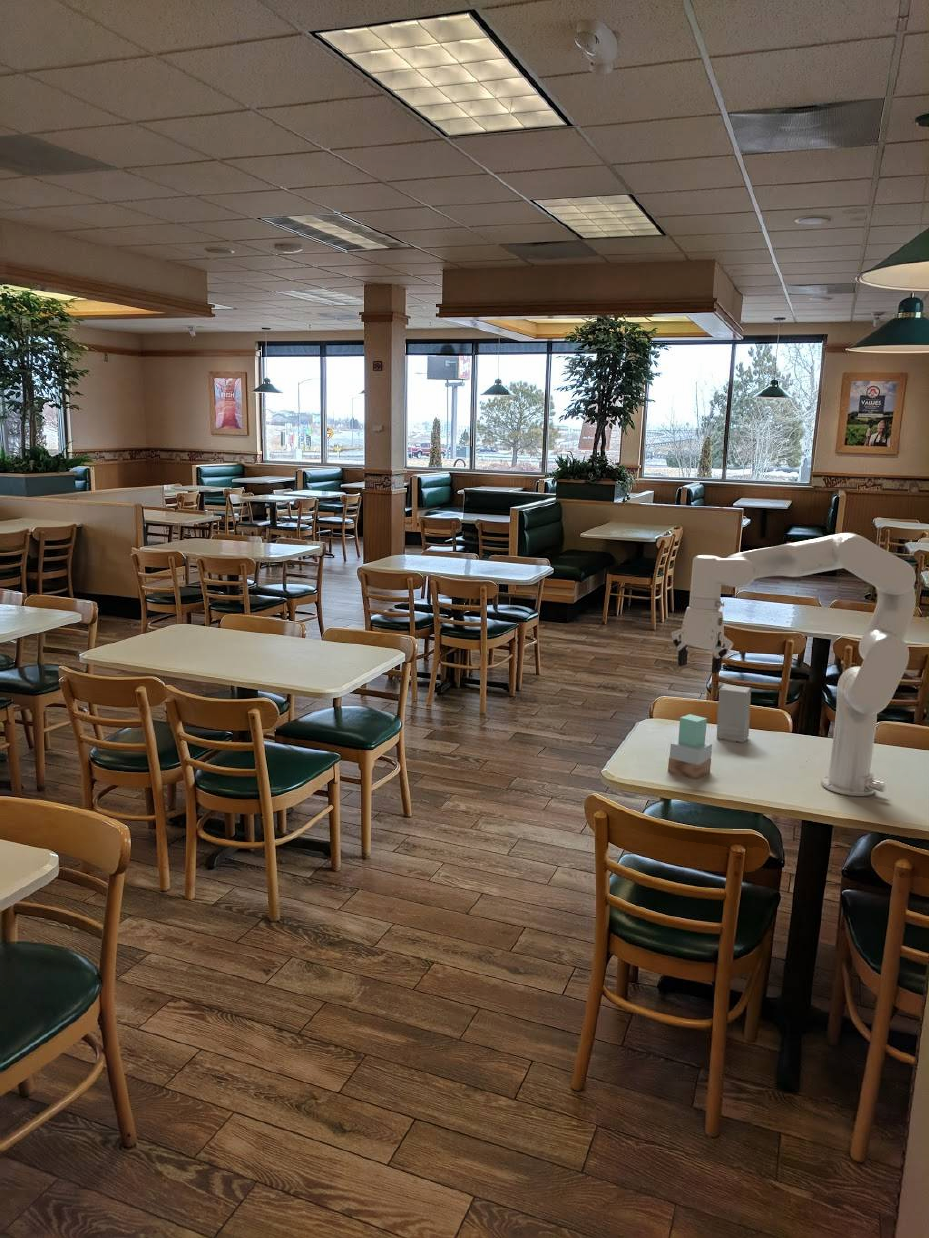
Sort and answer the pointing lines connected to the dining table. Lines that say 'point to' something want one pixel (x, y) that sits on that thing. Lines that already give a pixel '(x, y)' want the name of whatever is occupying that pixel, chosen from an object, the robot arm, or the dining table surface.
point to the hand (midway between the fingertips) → (698, 668)
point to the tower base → (689, 768)
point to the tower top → (691, 753)
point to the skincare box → (733, 713)
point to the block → (692, 730)
